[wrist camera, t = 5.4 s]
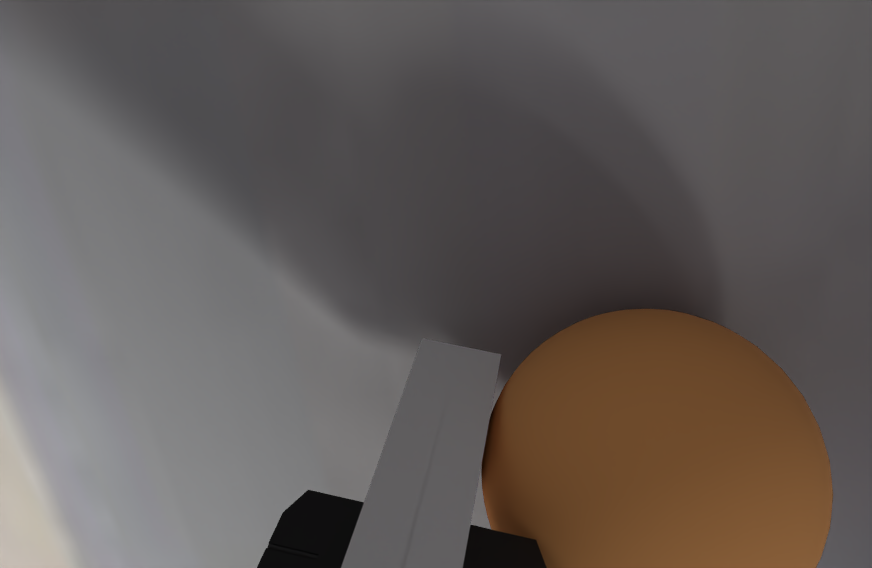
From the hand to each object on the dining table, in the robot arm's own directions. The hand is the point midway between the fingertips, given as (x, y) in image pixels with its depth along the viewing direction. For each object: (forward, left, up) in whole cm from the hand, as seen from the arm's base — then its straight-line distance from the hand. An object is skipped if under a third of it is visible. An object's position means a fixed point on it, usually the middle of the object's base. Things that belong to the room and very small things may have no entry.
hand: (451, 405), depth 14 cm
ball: (-3, 0, +1) cm, 4 cm away
